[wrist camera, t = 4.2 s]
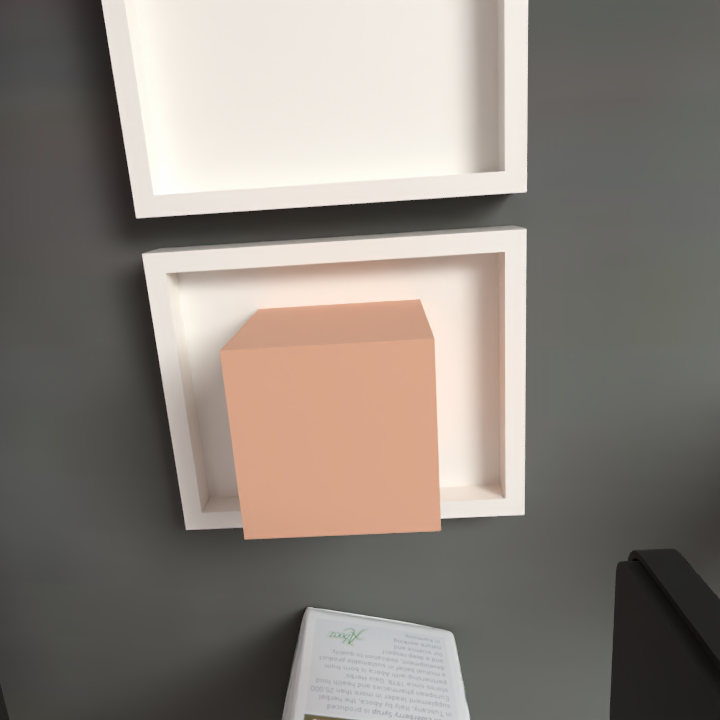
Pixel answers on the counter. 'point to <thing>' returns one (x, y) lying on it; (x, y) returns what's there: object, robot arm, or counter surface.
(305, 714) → the syrup box
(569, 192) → the counter surface
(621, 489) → the counter surface
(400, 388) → the light orange cube
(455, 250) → the tray
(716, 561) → the counter surface
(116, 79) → the tray
